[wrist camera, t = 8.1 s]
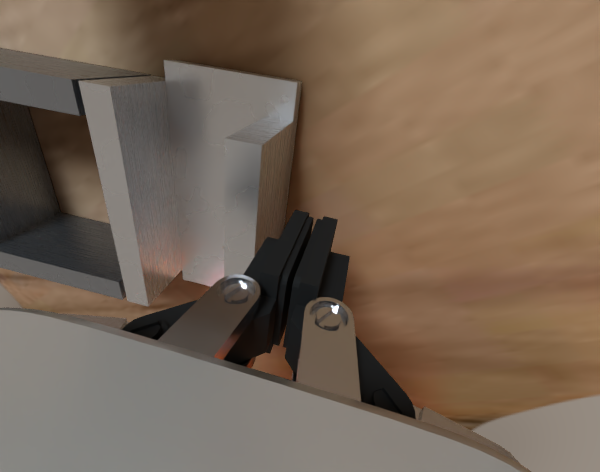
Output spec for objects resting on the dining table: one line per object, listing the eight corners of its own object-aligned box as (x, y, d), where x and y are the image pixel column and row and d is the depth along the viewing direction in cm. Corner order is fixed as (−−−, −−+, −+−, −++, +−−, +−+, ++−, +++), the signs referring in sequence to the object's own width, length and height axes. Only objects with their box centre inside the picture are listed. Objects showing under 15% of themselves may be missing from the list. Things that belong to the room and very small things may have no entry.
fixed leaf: (149, 55, 14) (64, 52, 10) (171, 263, 20) (125, 310, 16) (-116, 10, 15) (-276, -7, 12) (-19, 216, 22) (-102, 250, 18)
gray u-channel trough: (302, 81, 13) (265, 92, 8) (276, 291, 19) (247, 361, 15) (151, 55, 14) (44, 53, 9) (174, 265, 20) (116, 325, 15)
